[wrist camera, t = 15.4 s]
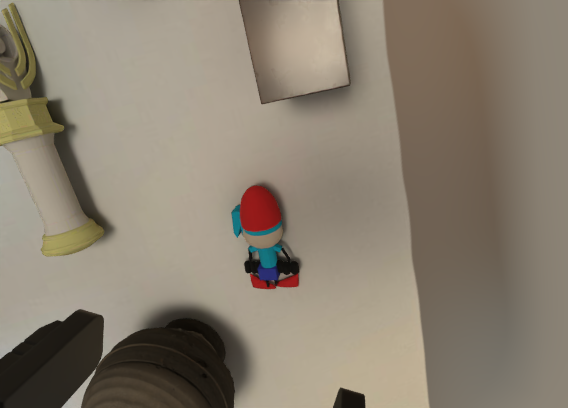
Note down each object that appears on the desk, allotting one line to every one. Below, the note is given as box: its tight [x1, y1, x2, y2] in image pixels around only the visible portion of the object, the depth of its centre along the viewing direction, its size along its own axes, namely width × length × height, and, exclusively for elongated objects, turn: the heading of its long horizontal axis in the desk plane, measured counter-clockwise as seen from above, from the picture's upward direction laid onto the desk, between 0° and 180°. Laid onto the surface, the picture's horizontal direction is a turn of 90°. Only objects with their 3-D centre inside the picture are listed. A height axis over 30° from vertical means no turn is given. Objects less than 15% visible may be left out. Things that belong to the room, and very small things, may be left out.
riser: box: [239, 0, 351, 104], centre depth 32 cm, size 14×7×13 cm, turn 12°
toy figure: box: [232, 185, 299, 289], centre depth 45 cm, size 8×5×15 cm
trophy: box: [0, 3, 104, 256], centre depth 44 cm, size 8×8×30 cm
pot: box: [81, 318, 235, 408], centre depth 46 cm, size 18×18×20 cm
